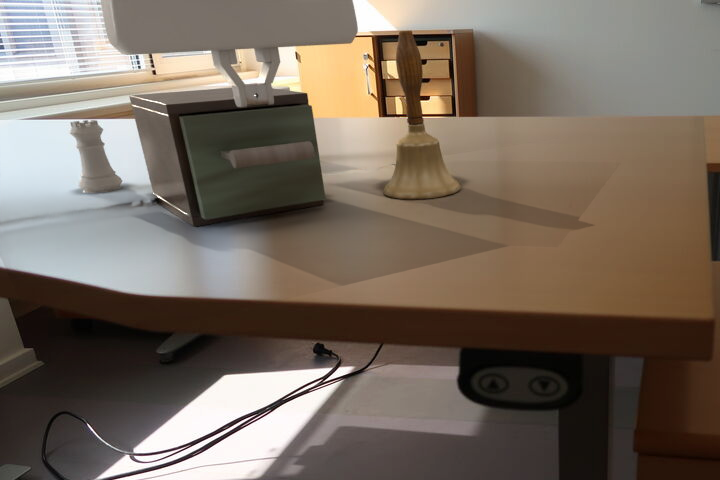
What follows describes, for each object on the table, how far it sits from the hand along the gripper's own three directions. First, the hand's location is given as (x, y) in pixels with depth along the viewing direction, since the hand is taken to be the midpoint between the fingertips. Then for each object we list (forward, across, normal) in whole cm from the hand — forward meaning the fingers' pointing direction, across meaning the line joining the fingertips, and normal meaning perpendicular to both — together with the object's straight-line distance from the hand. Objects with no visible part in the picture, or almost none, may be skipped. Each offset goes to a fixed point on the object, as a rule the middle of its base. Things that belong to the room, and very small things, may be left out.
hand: (255, 105), depth 65 cm
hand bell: (+11, -17, -2) cm, 20 cm away
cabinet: (+10, 0, -11) cm, 15 cm away
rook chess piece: (+10, +10, -26) cm, 30 cm away
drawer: (+9, 0, -6) cm, 11 cm away
